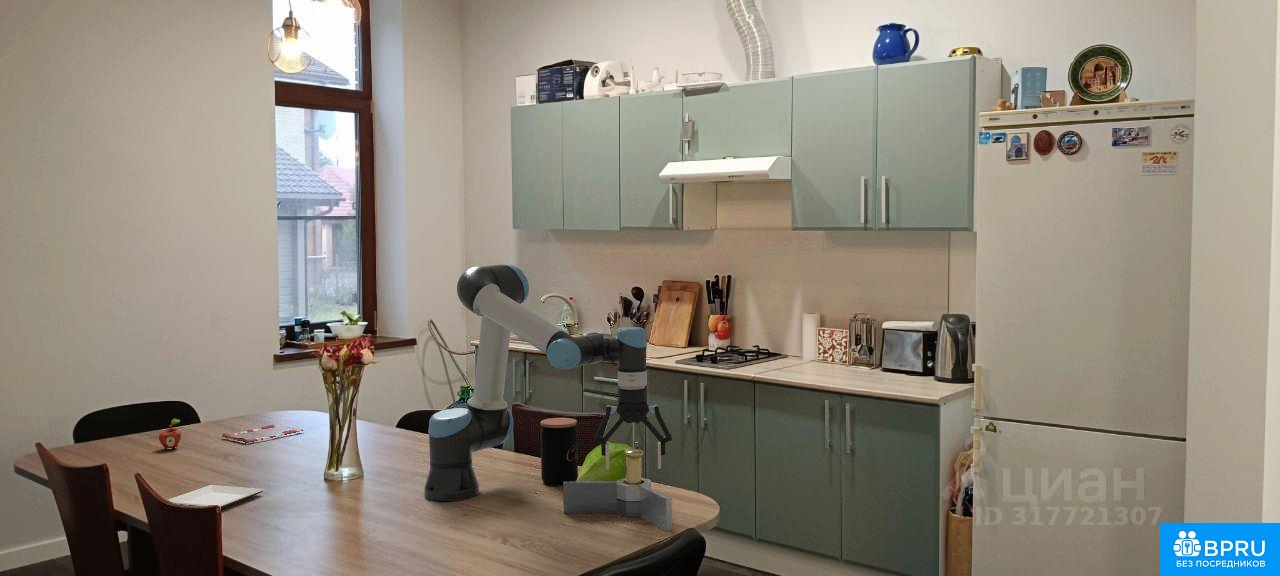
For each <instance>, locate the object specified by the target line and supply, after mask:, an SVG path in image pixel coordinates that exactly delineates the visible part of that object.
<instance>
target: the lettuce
mask: <svg viewBox="0 0 1280 576" xmlns="http://www.w3.org/2000/svg"><path fill="white" fill-rule="evenodd" d="M630 449H634V448H633V447H631V446H630V445H628V444H626V443H614V442H609V469H606V456H602V454H601V444H599V445H597V446H596V447H595V448H593V449H592V450H591V451H590V452H589V453H588V454H587V455H586V457H585V460H584V462H583V464H582V465H581V467H580V470H579V472H578V478H577V480H576V481H617V480H620V479H624V478H626V456H625V450H630ZM643 472H644V471H643V461H642V462H641V476H642V474H643Z"/></svg>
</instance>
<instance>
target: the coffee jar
mask: <svg viewBox="0 0 1280 576" xmlns="http://www.w3.org/2000/svg"><path fill="white" fill-rule="evenodd" d="M577 423H578V420H577V419H575V418H569V417H553V418H550V417H549V418H546V419H543V420H541V421H540V426H541V429H540V463H541V464H540V465H541V466H540V469H541V472H540V473H541V480H542V481H543V483H544V485H547V484H548V485H547V486H551V485H556V486H555V487H558V486H557V485H563V482H564V481H577V478H578V476H579V466H578V463H579V462H578V459H579V457H578V428H577V427H576V426H577V425H578V424H577Z"/></svg>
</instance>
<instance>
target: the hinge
mask: <svg viewBox="0 0 1280 576" xmlns="http://www.w3.org/2000/svg"><path fill="white" fill-rule="evenodd" d="M562 487H563V488H562V490H563V491H562V492H563V514H616V515H618V516H619V515H620V516H623V517H626V518H641V519H643V520H644V521H647V522H649V523H651V524H653V525H654V526H657V527H658V528H660V529H662V530H664V531H665V532H670V531H673V499H672V497H671V496H669V495H667V494H664V493H662V492H660V491H658V490H655V489H653V488H652V480H651V479H649V478H645V477H641V484H638V485H628V484H626V478H624V479H620V480H617V481H577V480H576V481H564V482H563V486H562Z"/></svg>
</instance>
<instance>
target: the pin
mask: <svg viewBox="0 0 1280 576" xmlns="http://www.w3.org/2000/svg"><path fill="white" fill-rule="evenodd" d="M625 456H626V484H628V485H638V484H641V478H642V475H641V462H642V463H643V461H642V457H643V456H644V450H641V449H636V448H633V449H630V450H625Z"/></svg>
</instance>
